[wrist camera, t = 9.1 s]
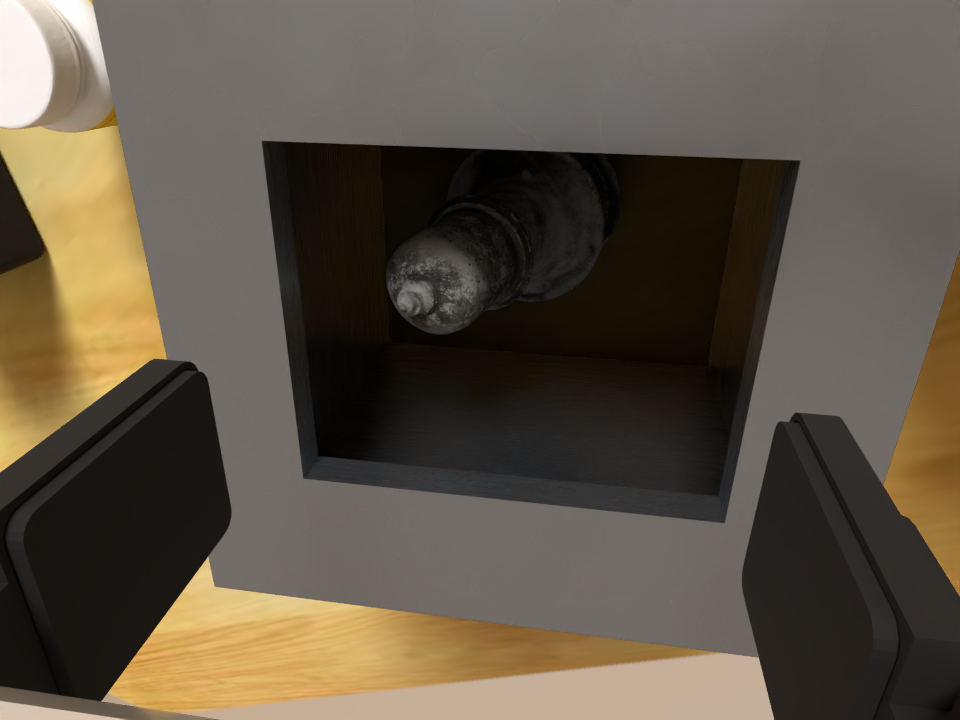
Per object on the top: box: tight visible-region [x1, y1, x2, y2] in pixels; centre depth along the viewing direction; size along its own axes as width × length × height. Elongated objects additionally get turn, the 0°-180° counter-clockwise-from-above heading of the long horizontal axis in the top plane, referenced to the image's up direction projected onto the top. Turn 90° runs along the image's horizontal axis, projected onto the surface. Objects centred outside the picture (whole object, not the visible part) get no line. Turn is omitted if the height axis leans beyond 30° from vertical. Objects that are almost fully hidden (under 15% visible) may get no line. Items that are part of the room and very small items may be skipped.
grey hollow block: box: [92, 0, 960, 657], centre depth 21 cm, size 16×16×14 cm
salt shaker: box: [386, 149, 621, 334], centre depth 22 cm, size 6×6×12 cm
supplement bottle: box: [0, 0, 118, 133], centre depth 24 cm, size 5×5×8 cm
